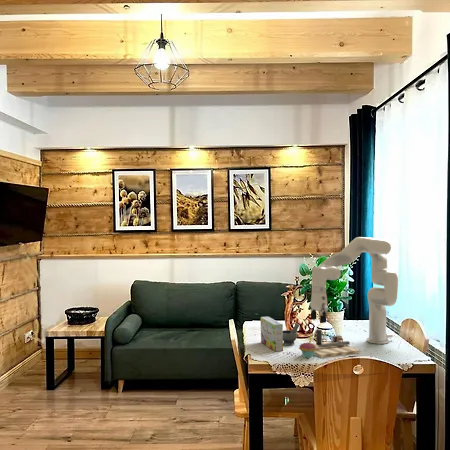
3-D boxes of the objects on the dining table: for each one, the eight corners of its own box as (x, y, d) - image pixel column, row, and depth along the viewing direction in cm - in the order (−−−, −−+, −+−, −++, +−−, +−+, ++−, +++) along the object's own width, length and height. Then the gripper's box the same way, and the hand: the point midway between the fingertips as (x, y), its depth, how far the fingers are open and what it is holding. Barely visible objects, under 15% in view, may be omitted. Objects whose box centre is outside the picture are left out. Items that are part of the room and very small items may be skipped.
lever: (347, 343, 296) (347, 326, 296) (350, 344, 294) (350, 327, 293) (315, 346, 289) (315, 329, 289) (317, 348, 286) (318, 330, 286)
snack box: (259, 342, 308) (259, 316, 307) (268, 341, 310) (268, 316, 309) (274, 351, 288) (274, 324, 287) (283, 351, 289) (283, 323, 289)
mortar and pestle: (280, 346, 300) (280, 324, 299) (279, 341, 309) (279, 321, 309) (300, 346, 299) (300, 325, 299) (298, 342, 309) (298, 321, 308)
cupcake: (313, 354, 283) (314, 331, 283) (317, 358, 274) (317, 335, 274) (297, 354, 283) (298, 331, 282) (300, 358, 274) (300, 335, 274)
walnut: (340, 341, 303) (340, 335, 302) (344, 343, 299) (344, 337, 299) (335, 342, 301) (335, 336, 301) (338, 343, 298) (338, 337, 298)
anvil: (339, 340, 305) (339, 335, 305) (341, 341, 303) (341, 336, 303) (332, 341, 303) (332, 336, 303) (334, 342, 301) (334, 336, 301)
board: (336, 343, 305) (336, 340, 305) (359, 353, 285) (359, 349, 284) (300, 347, 296) (300, 344, 296) (320, 357, 276) (320, 354, 276)
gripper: (333, 291, 280) (333, 323, 281) (316, 287, 297) (316, 317, 297) (321, 292, 278) (320, 324, 278) (304, 287, 294) (304, 318, 294)
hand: (318, 321), depth 287 cm, fingers open, 9 cm apart
